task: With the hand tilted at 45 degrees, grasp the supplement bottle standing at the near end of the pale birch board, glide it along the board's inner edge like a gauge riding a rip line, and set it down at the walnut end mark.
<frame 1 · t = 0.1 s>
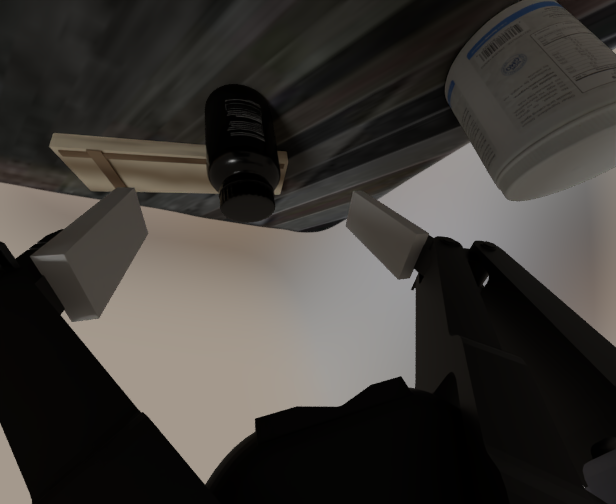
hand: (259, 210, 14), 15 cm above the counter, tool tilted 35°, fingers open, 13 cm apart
birch board: (192, 165, 29), on the counter
supplement tub: (491, 55, 23), on the counter
supplement bottle: (239, 113, 24), on the counter
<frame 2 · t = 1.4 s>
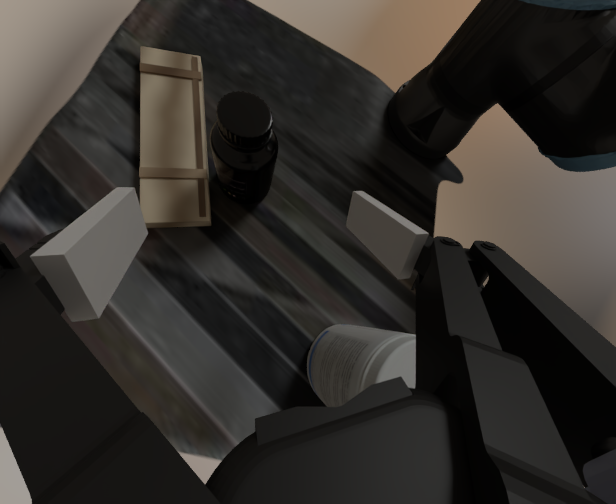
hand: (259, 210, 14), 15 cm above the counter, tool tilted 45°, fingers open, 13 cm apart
birch board: (177, 139, 29), on the counter
supplement tub: (340, 360, 29), on the counter
supplement bottle: (244, 183, 31), on the counter
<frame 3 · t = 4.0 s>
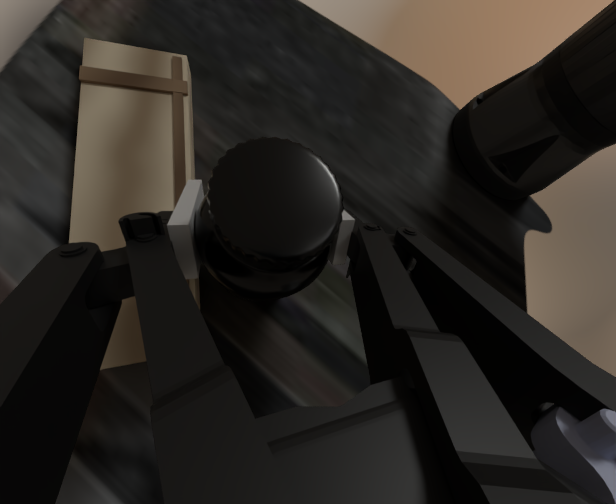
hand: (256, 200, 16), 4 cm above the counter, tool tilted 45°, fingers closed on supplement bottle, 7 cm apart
birch board: (146, 194, 18), on the counter
supplement bottle: (257, 261, 19), on the counter, touching gripper
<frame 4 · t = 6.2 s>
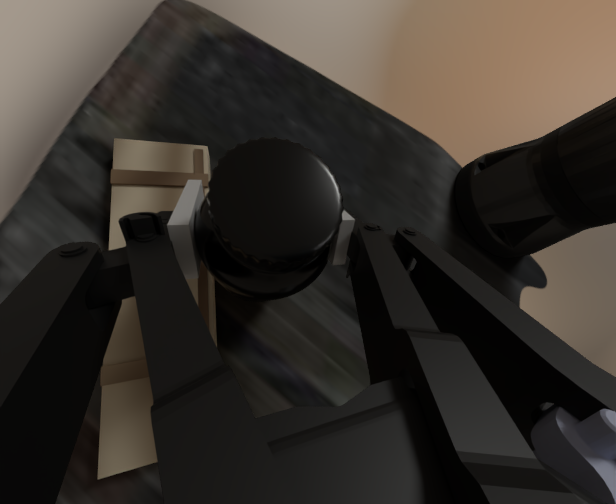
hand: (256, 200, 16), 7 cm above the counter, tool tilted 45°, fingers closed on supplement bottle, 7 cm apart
birch board: (169, 283, 19), on the counter
supplement bottle: (257, 261, 19), point 2 cm above the counter, touching gripper
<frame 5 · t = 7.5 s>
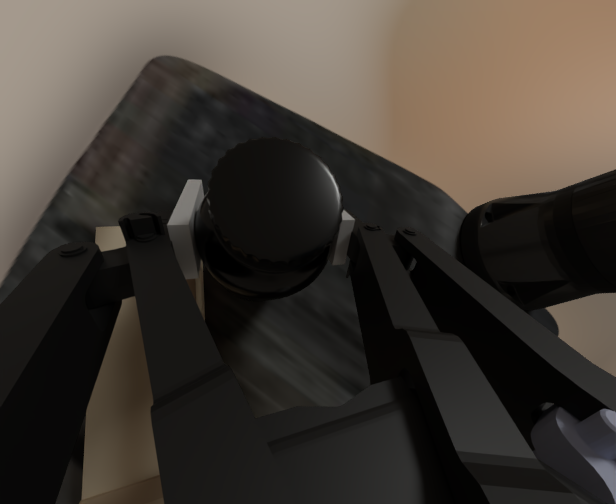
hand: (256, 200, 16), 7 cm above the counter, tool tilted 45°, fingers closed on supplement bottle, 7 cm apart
birch board: (157, 380, 17), on the counter
supplement bottle: (257, 261, 19), point 3 cm above the counter, touching gripper
when the fingers open (5 cm above the counter, at t = 8.3 s): supplement bottle stays where it is, on the counter.
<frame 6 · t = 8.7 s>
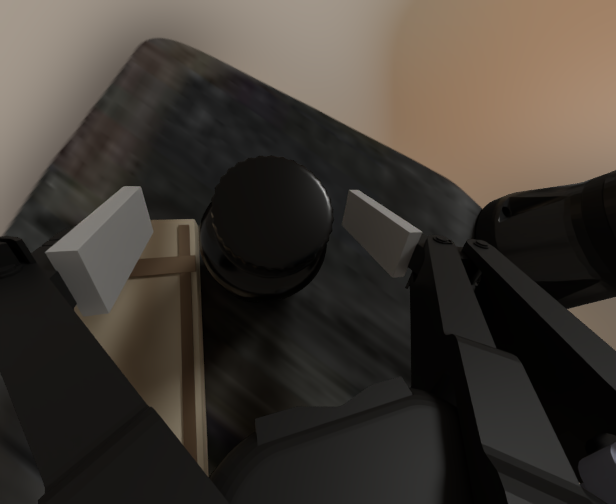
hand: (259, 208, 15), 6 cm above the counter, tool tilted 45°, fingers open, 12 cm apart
birch board: (149, 392, 16), on the counter
supplement bottle: (257, 263, 20), on the counter
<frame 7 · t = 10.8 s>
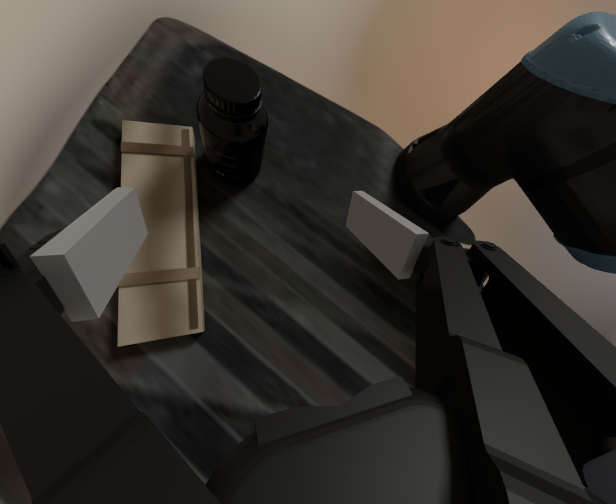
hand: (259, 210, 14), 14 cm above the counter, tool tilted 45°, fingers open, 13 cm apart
birch board: (165, 226, 26), on the counter
supplement bottle: (234, 165, 30), on the counter
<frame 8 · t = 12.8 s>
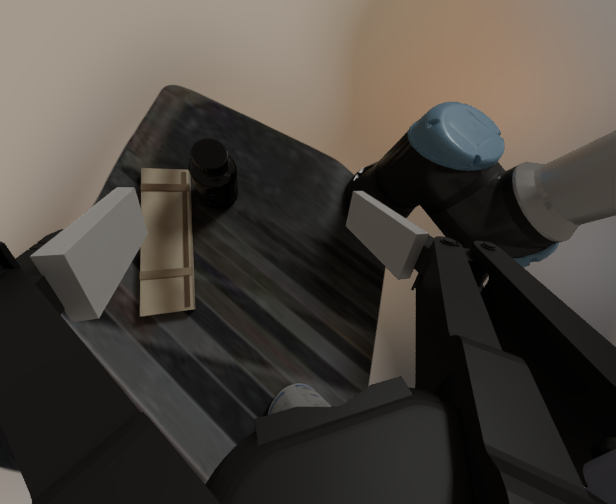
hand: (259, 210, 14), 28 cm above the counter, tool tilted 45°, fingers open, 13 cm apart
birch board: (169, 239, 38), on the counter
supplement tub: (295, 412, 38), on the counter
supplement bottle: (218, 194, 42), on the counter
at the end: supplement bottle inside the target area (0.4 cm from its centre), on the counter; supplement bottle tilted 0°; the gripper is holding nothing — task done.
